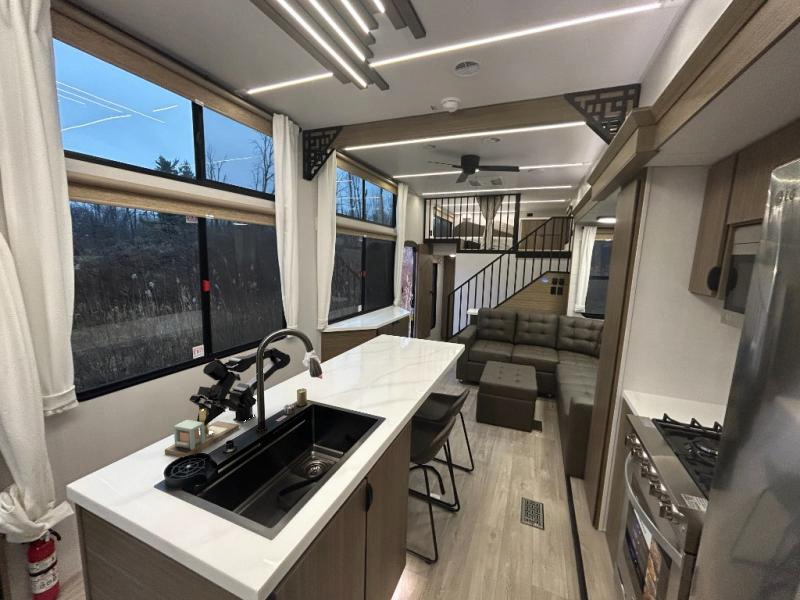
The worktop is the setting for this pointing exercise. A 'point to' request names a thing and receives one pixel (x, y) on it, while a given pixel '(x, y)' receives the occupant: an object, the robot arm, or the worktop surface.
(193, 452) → the track board
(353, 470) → the worktop surface
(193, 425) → the tunnel
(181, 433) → the terracotta block
